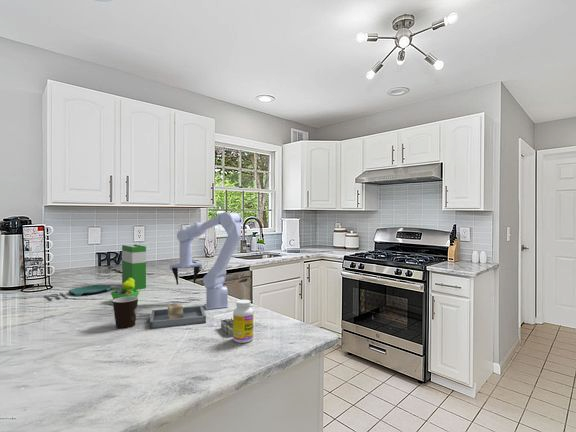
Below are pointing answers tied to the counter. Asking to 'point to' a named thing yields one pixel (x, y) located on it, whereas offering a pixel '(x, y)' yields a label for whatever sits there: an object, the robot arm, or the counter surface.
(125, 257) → the green cereal box
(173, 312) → the wooden cube
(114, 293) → the fruit basket
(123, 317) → the coffee mug
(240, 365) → the counter surface
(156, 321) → the tray
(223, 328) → the grey lumpy block
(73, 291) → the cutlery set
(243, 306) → the supplement bottle
